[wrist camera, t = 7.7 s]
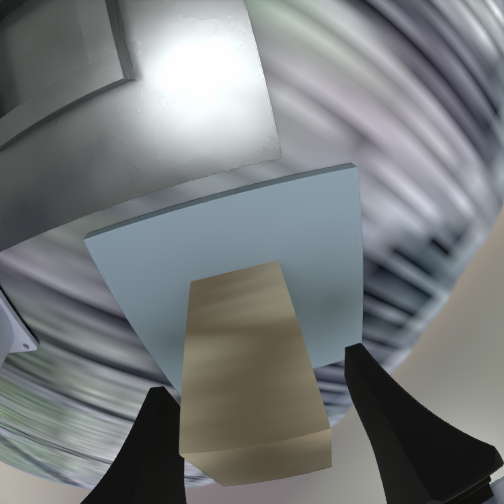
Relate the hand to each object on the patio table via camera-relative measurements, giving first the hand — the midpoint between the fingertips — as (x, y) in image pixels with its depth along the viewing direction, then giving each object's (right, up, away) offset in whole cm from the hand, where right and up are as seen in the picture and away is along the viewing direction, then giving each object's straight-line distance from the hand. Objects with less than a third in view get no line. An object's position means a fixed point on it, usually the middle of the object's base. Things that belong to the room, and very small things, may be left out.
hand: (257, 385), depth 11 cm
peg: (-1, +3, +3) cm, 4 cm away
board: (-1, +2, +4) cm, 5 cm away
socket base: (-9, +14, -3) cm, 17 cm away
